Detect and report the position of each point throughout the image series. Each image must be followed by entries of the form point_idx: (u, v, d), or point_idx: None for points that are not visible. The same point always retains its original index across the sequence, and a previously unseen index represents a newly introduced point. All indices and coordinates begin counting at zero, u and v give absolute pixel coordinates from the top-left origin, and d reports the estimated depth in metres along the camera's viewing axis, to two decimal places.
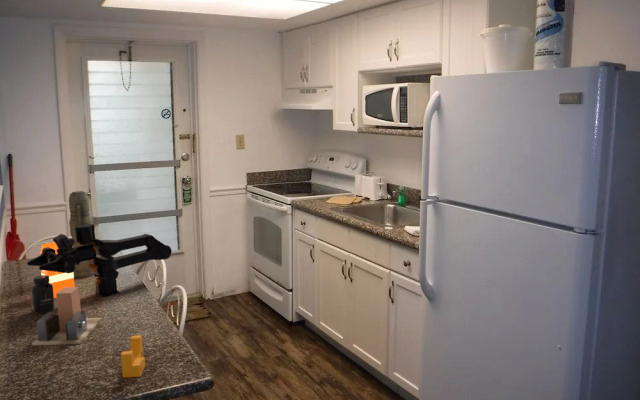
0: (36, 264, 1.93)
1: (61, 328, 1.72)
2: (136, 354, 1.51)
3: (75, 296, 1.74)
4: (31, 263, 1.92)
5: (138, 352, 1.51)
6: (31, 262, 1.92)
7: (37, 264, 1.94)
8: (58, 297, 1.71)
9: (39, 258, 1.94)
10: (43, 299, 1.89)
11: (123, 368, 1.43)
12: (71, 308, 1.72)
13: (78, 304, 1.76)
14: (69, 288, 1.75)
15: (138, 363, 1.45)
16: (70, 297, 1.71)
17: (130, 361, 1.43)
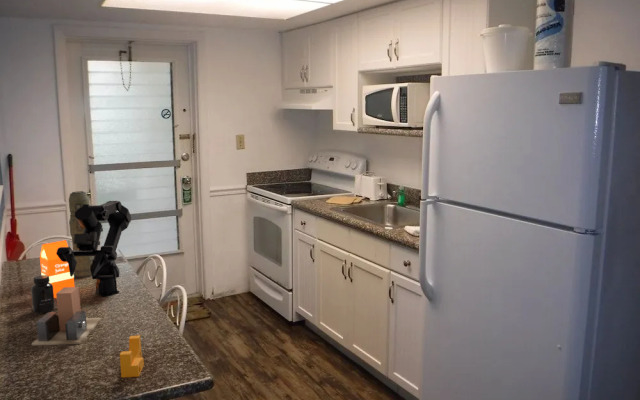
0: (74, 270, 1.88)
1: (61, 328, 1.72)
2: (135, 354, 1.51)
3: (75, 296, 1.74)
4: (72, 273, 1.87)
5: (137, 352, 1.51)
6: (72, 272, 1.86)
7: (74, 269, 1.88)
8: (58, 297, 1.71)
9: (72, 264, 1.87)
10: (43, 299, 1.89)
11: (122, 368, 1.43)
12: (71, 308, 1.72)
13: (78, 304, 1.76)
14: (69, 288, 1.75)
15: (137, 363, 1.45)
16: (70, 297, 1.71)
17: (129, 361, 1.43)
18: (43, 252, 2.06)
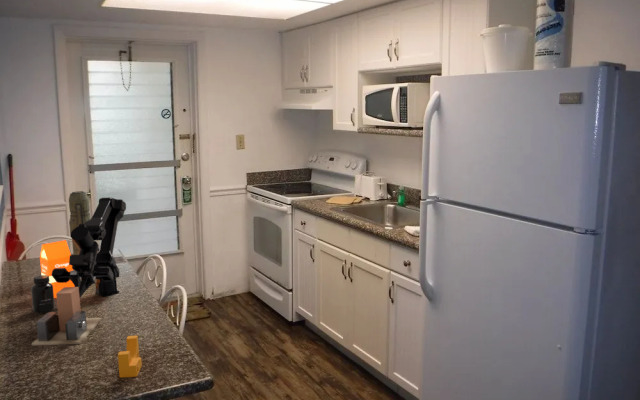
0: None
1: (61, 328, 1.72)
2: (132, 354, 1.51)
3: (75, 296, 1.74)
4: None
5: (134, 352, 1.51)
6: None
7: None
8: (58, 297, 1.71)
9: (78, 285, 1.83)
10: (43, 299, 1.89)
11: (120, 368, 1.43)
12: (71, 308, 1.72)
13: (78, 304, 1.76)
14: (69, 288, 1.75)
15: (135, 363, 1.45)
16: (70, 297, 1.71)
17: (127, 361, 1.43)
18: (43, 252, 2.06)
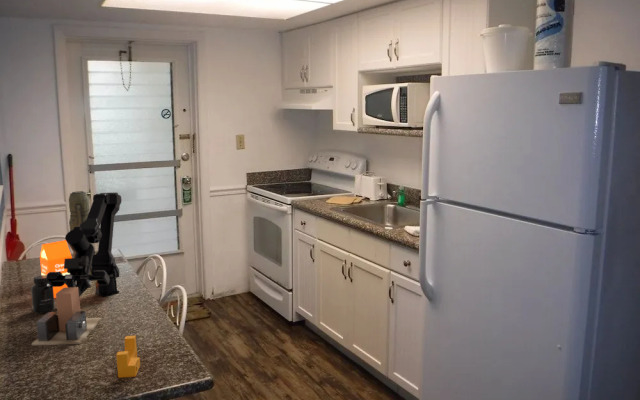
0: None
1: (61, 328, 1.72)
2: (131, 354, 1.51)
3: (75, 296, 1.74)
4: None
5: (132, 352, 1.51)
6: None
7: None
8: (58, 297, 1.71)
9: None
10: (43, 299, 1.89)
11: (119, 368, 1.43)
12: (71, 308, 1.71)
13: (77, 305, 1.76)
14: (69, 288, 1.75)
15: (134, 363, 1.45)
16: (70, 297, 1.71)
17: (126, 361, 1.43)
18: (43, 252, 2.06)
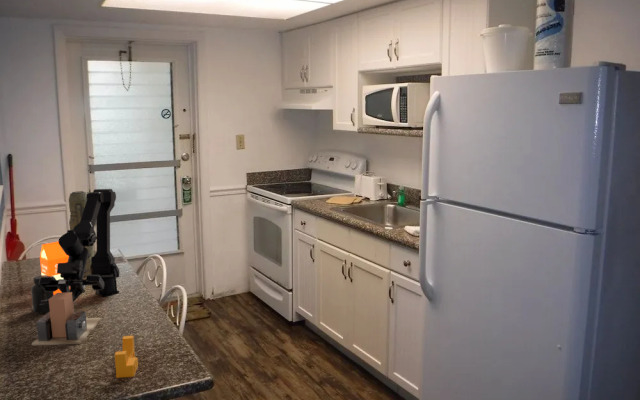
0: None
1: (54, 335, 1.67)
2: (129, 354, 1.51)
3: (68, 301, 1.69)
4: None
5: (130, 352, 1.51)
6: None
7: None
8: (51, 303, 1.66)
9: None
10: (43, 299, 1.89)
11: (117, 368, 1.43)
12: (64, 314, 1.66)
13: (71, 311, 1.71)
14: (62, 294, 1.70)
15: (132, 363, 1.45)
16: (63, 303, 1.66)
17: (124, 361, 1.43)
18: (43, 252, 2.06)
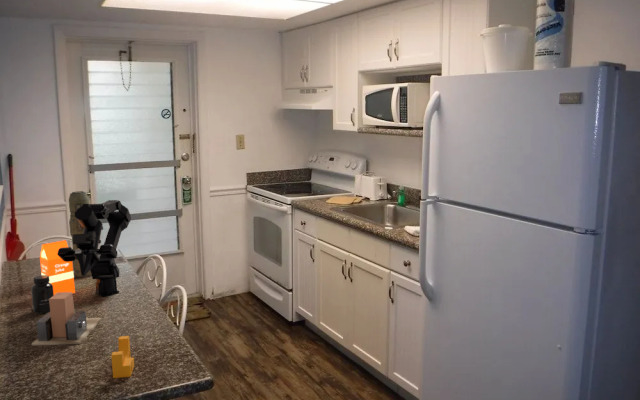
0: None
1: (54, 335, 1.68)
2: (125, 354, 1.51)
3: (69, 301, 1.69)
4: None
5: (126, 352, 1.51)
6: None
7: None
8: (51, 303, 1.66)
9: (83, 263, 1.88)
10: (43, 299, 1.89)
11: (114, 368, 1.43)
12: (64, 314, 1.67)
13: (72, 310, 1.71)
14: (62, 293, 1.70)
15: (128, 363, 1.45)
16: (64, 302, 1.66)
17: (121, 361, 1.43)
18: (43, 252, 2.06)
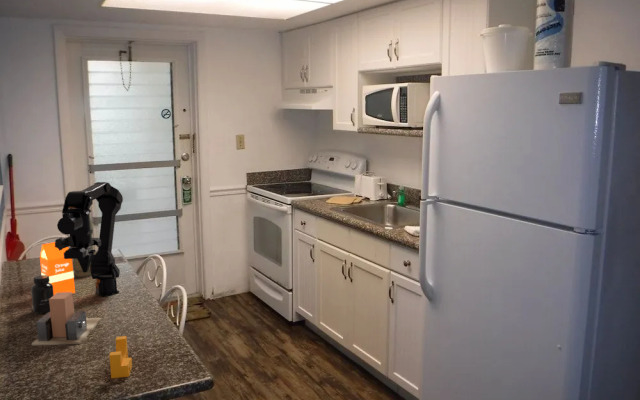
0: None
1: (54, 335, 1.68)
2: (122, 355, 1.51)
3: (69, 301, 1.69)
4: None
5: (124, 353, 1.51)
6: None
7: None
8: (51, 303, 1.66)
9: None
10: (43, 299, 1.89)
11: (112, 368, 1.43)
12: (64, 314, 1.67)
13: (72, 310, 1.71)
14: (62, 293, 1.70)
15: (127, 363, 1.45)
16: (64, 302, 1.66)
17: (119, 361, 1.43)
18: (43, 252, 2.06)
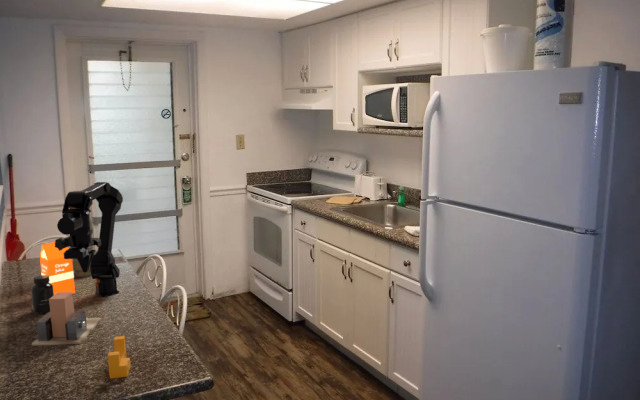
0: None
1: (54, 335, 1.68)
2: (121, 355, 1.51)
3: (69, 301, 1.69)
4: None
5: (122, 353, 1.51)
6: None
7: None
8: (51, 303, 1.66)
9: None
10: (43, 299, 1.89)
11: (110, 368, 1.43)
12: (64, 314, 1.67)
13: (72, 310, 1.71)
14: (62, 293, 1.70)
15: (125, 363, 1.45)
16: (64, 302, 1.66)
17: (117, 361, 1.43)
18: (43, 252, 2.06)
